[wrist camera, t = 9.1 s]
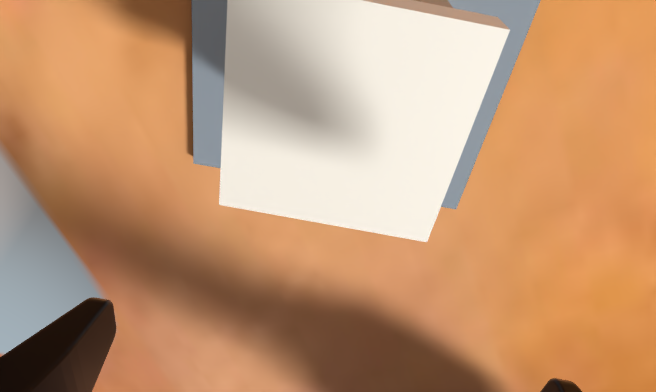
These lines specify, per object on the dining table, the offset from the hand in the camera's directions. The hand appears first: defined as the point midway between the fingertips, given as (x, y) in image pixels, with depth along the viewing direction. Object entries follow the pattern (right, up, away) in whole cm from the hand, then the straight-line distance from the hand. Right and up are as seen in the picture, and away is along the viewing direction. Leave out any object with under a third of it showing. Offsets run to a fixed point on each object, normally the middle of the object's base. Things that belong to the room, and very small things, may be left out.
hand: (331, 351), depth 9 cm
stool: (+1, +8, +8) cm, 12 cm away
